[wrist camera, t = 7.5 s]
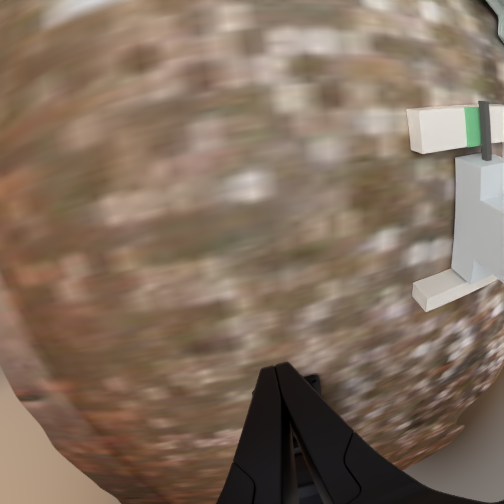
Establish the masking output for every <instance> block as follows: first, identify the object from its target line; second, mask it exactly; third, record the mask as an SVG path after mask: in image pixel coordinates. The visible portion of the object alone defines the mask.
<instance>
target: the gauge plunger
mask: <svg viewBox="0 0 504 504" xmlns="http://www.w3.org/2000/svg"><path fill="white" fill-rule="evenodd" d="M478 103H479V113H480V127H481V147H482V153H478V154H472V155H466V156H461V157H455V166H456V205H455V228H454V243H453V254H452V264H451V268H452V269H453V270H454V271H455V272H457V273H458V274H459V275H460V276H461V277H462V278H463V279H464V280H466V281H467V282H468V283H469V284H470V285H471V284H474V283H476V282H478V281H480V280H482V279H484V278H486V277H489V276H491V275H494V276H496V277H497V278H498V279H499V280H500V281H501V282H503V283H504V158H502V157H499V156H497V155H494V154H492V151H491V126H490V112H489V102H486V101H478Z"/></svg>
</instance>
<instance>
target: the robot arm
mask: <svg viewBox="0 0 504 504" xmlns="http://www.w3.org/2000/svg"><path fill="white" fill-rule="evenodd" d="M252 396H253V397H252V400H251V404H250V407H249V410H248V414H247V417H246V420H245V424H244V427H243V430H242V433H241V437H240V440H239V443H238V446H237V449H236V453H235V456H234V459H233V462H234V463H232V465H231V468H230V471H229V474H228V477H227V479H226V482H225V485H224V487H223V490H222V492H221V494H220V496H219V498H218V500H217V503H216V504H504V500H503V501H499V502H494V503H487V502H481V501H477V500H472V499H467V498H463V497H458V496H455V495H450V494H447V493H443V492H439V491H436V490H433V489H431V488H429V487H427V486H425V485H423V484H421V483H420V482H418V481H417V480H415V479H414V478H412V477H411V476H409V475H408V474H406V473H405V472H403V471H402V470H401V469H399V468H398V467H396V466H395V465H393V464H392V463H391V462H389V461H388V460H386V459H385V458H384V457H383V456H381V455H380V454H379V453H377V452H376V451H375V450H374V449H373V448H372V447H371V446H369V445H368V444H367V443H366V442H365V441H364V440H363V439H362V438H361V437H360V436H359V435H358V434H357V433H356V432H354V430H353V429H352V428H351V427H350V426H349V425H348V424H347V423H346V422H345V421H344V420H343V419H342V418H341V417H340V416H339V415H338V414H337V413H336V412H335V411H334V410H333V409H332V408H331V407H330V405H329V404H328V403H327V402H326V401H325V400H324V399H323V398H322V397H321V389H320V382H319V378H318V376H317V375H311V376H307V377H304V378H303V377H302V376H301V375H300V374H299V373H298V372H297V370H296V369H295V368H294V367H293V366H292V365H291V364H290V363H289V362H283V363H279V364H276V365H275V366H273V365H271V366H267V367H263V368H262V369H261V370H260V373H259V376H258V380H257V383H256V387H255V390H254V391H253V392H252Z"/></svg>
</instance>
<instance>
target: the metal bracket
mask: <svg viewBox="0 0 504 504" xmlns="http://www.w3.org/2000/svg"><path fill="white" fill-rule="evenodd" d="M486 1H487V2H488V4H489V5H490V6H491V8H492V9H493V10H494V12H495V13H496V14H497V16H498V19H499V24H498V35H499V37H500V39H501V40H502V42H503V43H504V0H486Z"/></svg>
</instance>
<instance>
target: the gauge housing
mask: <svg viewBox="0 0 504 504" xmlns="http://www.w3.org/2000/svg"><path fill="white" fill-rule="evenodd" d="M406 111H407V118H408V126H409V135H410V145H411V150H412V151H415V152H418V153H421V154H426V153H432V152H438V151H444V150H450V149H456V148H463V147H475V146H481V127H480V113H479V104H476V105H452V106H436V107H423V108H412V109H406ZM489 112H490V126H491V143H498V142H502V158H504V105H502V104H489ZM496 280H498V278H497V277H496V276H494V275H491V276H489V277H486V278H484V279H482V280H480V281H478V282H476V283H474V284H471V285H470V284H469V283H468V282H467V281H466V280H464V279H463V278H462V277H461V276H460V275H459V274H458V273H457V272H455V271H454V270H453V269H452V268H450V269H448V270H445V271H443V272H440V273H437V274H435V275H432V276H429V277H427V278H424V279H421V280H419V281H416V282H413V290H412V297H413V298H414V299H415V300H416V301H417V302H418V304H419V305H420V306H421V307H422V308H423V309H424V311H425V312H428V311H430V310H432V309H435V308H437V307H440V306H442V305H444V304H447V303H449V302H451V301H453V300H456V299H458V298H460V297H462V296H464V295H467V294H469V293H471V292H473V291H475V290H477V289H480V288H482V287H484V286H486V285H488V284H490V283H492V282H494V281H496Z"/></svg>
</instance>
